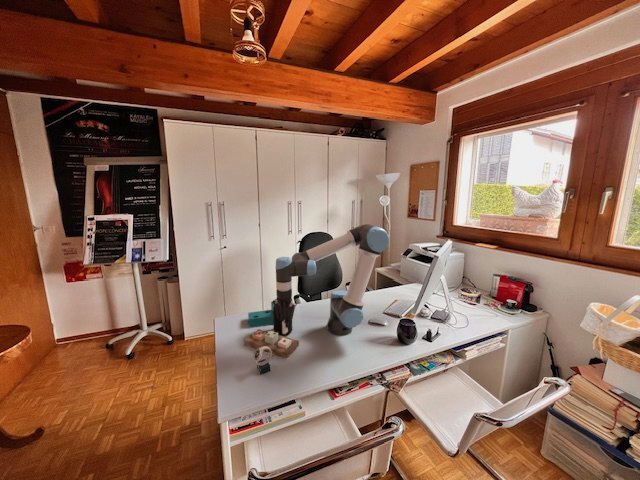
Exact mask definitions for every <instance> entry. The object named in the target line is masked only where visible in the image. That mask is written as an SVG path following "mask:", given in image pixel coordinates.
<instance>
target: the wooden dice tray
mask: <svg viewBox="0 0 640 480" xmlns="http://www.w3.org/2000/svg"><path fill="white" fill-rule="evenodd" d="M258 330H259V331H262V332H266V334H267V333H268V332H269V331H267V330H264V329H256V330H255V331H254V332H253V333H252V334H250V335H249V336H248V337H247V338H245V339H244V341H243V342H244V346H246V347H249V348H252V349H254V350H257V349H259V348H260V347H263V346H268V347H269V348H270V349H271V351H272V356H276V357H278V358H279V357H280V358H283V359H286V360H288V358H289V357H291V355H292V354H293V353H294V352H295V351H296V350H297V349H298V347H300V340H299V339H298V340H297V339H294V338H291V337H287V336H281V335H278V341H277V342H276V343H274V344H273V345H272V344H269V343H265V338H263V339H262V340H261V341H259V340H256V339H253V338H252V335H253V334H254V333H255V332H257V331H258ZM282 338H287V339H290V340H291V345H290V346H289V347H288V348H287V349H285V348H282V347H278V342H279V341H280V340H281V339H282ZM269 351H270V350H269V349H265V350H263V352H264V353H268V354H269Z"/></svg>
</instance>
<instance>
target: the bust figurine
mask: <svg viewBox="0 0 640 480" xmlns="http://www.w3.org/2000/svg"><path fill="white" fill-rule="evenodd" d="M265 349H269V350H270V351H269V353H268V354H267V357H266V358H263V359H262V357H263V352H264V351H263V350H265ZM272 357H273V354H272V351H271V349H270V348H269V347H268V346H263V347H260V348H259V349H255V351H254V353H253V360H254V361H255V363H256V368H257V371H258V372H259V374H260V375H265V374H267V373H270V372H271V364H270V360H271V359H272Z"/></svg>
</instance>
